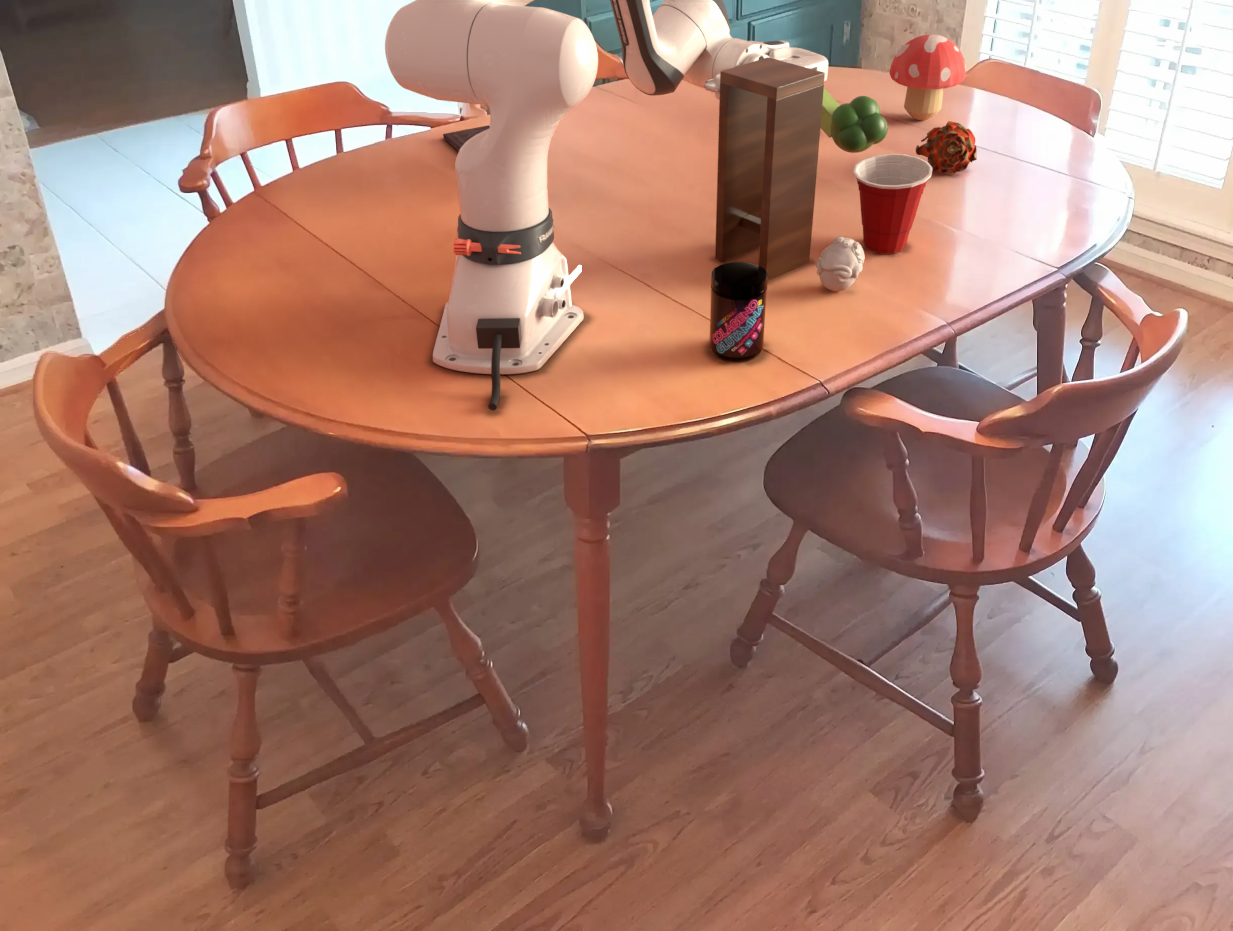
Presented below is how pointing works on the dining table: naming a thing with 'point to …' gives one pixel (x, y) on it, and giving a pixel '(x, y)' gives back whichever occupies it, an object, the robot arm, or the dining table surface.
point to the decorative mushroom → (927, 73)
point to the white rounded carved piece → (840, 264)
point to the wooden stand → (768, 162)
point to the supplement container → (737, 311)
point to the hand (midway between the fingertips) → (810, 90)
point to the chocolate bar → (462, 136)
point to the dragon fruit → (949, 148)
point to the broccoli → (853, 123)
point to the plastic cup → (890, 198)
